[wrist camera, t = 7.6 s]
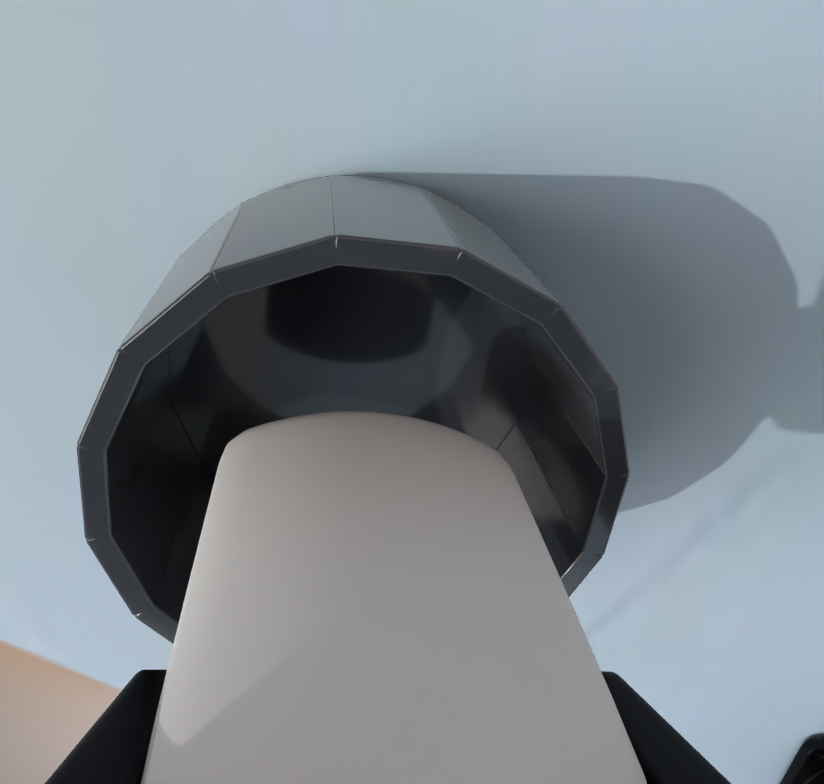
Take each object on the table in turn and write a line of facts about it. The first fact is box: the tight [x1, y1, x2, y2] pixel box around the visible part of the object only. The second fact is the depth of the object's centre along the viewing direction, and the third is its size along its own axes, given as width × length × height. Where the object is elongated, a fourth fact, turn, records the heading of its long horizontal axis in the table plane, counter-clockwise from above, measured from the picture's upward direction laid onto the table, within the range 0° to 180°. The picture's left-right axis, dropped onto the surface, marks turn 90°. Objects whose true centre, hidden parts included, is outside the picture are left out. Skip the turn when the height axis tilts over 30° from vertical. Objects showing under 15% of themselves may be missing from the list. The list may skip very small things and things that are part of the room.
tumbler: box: [77, 175, 629, 644], centre depth 16 cm, size 10×10×6 cm
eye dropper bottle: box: [140, 411, 647, 784], centre depth 8 cm, size 4×6×12 cm
